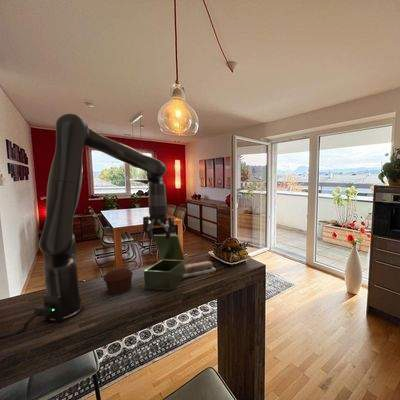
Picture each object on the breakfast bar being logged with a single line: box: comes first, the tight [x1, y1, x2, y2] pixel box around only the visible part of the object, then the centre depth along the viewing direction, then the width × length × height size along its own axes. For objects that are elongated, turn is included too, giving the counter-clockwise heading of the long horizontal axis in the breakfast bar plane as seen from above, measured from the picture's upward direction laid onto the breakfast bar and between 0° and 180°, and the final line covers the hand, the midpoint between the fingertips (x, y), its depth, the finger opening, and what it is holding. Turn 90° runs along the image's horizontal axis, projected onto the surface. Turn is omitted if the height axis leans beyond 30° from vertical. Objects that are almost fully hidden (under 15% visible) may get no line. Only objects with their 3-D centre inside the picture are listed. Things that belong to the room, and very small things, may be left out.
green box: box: [143, 259, 186, 291], centre depth 112 cm, size 15×13×9 cm
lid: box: [153, 233, 186, 261], centre depth 117 cm, size 15×13×5 cm
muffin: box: [102, 266, 134, 295], centre depth 106 cm, size 12×11×10 cm
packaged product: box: [183, 260, 217, 279], centre depth 125 cm, size 18×5×10 cm
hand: (159, 238), depth 107 cm, fingers open, 8 cm apart
